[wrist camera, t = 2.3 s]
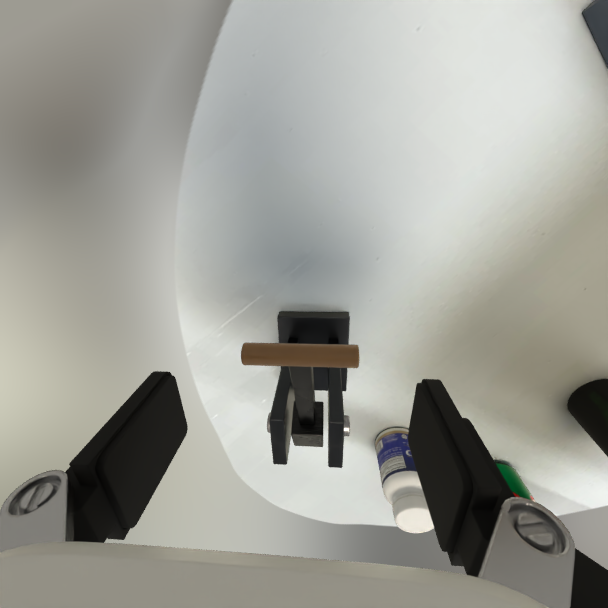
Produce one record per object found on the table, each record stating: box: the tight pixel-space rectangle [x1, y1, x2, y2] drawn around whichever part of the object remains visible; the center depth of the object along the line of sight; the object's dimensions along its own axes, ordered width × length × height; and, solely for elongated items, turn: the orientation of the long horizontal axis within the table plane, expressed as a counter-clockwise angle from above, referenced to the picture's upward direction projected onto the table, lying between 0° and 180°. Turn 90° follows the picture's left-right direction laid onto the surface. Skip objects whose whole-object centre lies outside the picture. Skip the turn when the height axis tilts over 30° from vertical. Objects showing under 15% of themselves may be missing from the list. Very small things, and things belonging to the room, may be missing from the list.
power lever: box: [241, 343, 359, 447], centre depth 18 cm, size 12×6×2 cm, turn 1°
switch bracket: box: [267, 312, 350, 468], centre depth 25 cm, size 9×7×12 cm
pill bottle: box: [375, 428, 434, 533], centre depth 31 cm, size 5×5×9 cm
